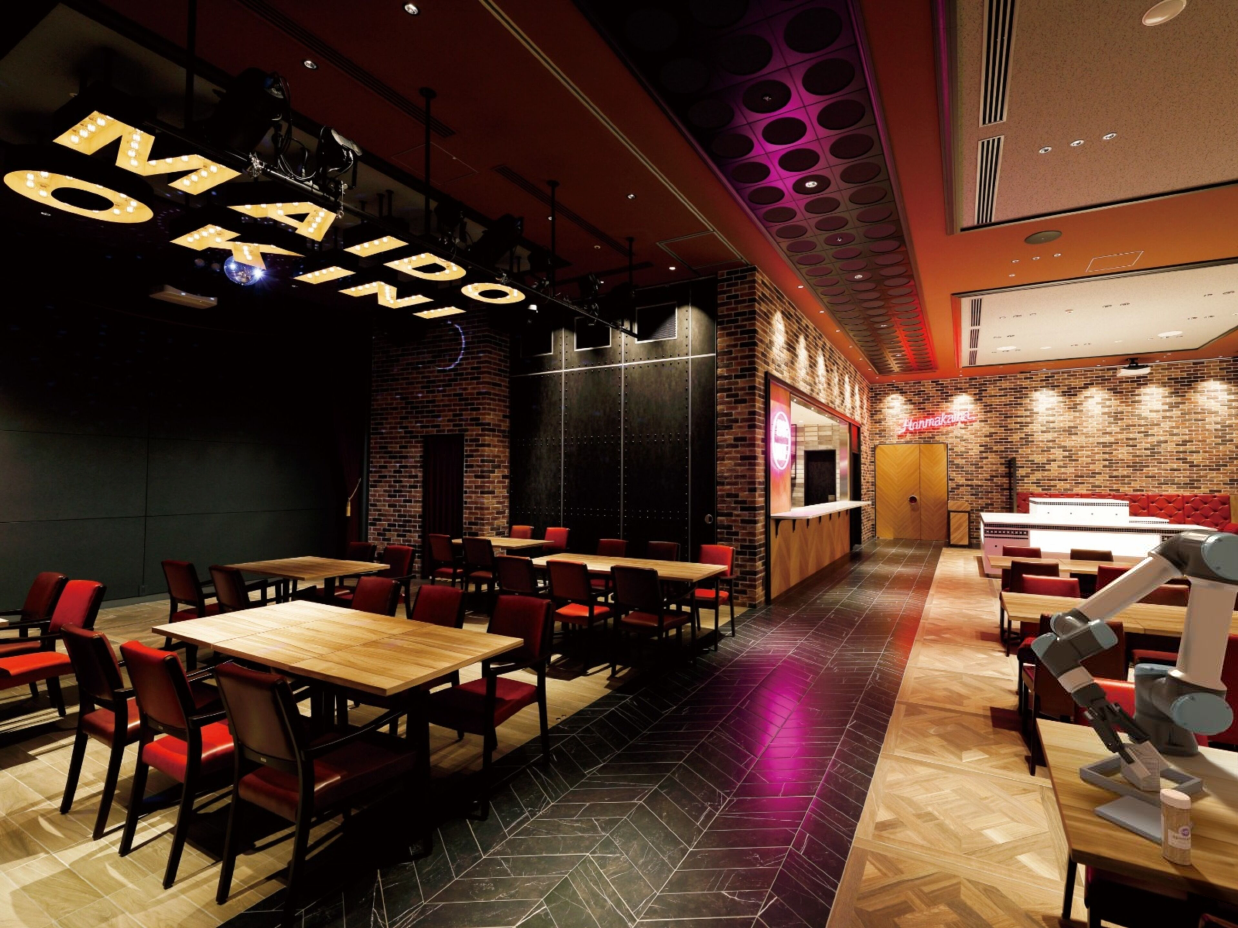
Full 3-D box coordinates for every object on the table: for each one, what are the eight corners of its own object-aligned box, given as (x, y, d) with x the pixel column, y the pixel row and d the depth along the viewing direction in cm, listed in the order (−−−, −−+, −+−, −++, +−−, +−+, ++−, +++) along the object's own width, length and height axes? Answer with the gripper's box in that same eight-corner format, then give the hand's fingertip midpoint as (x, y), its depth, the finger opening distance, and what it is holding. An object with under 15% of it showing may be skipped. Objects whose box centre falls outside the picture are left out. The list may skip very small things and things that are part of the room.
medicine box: (1161, 792, 143) (1160, 757, 144) (1140, 790, 144) (1140, 756, 145) (1139, 776, 151) (1138, 743, 151) (1120, 774, 152) (1119, 741, 152)
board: (1128, 799, 140) (1128, 794, 140) (1192, 827, 129) (1192, 822, 129) (1095, 813, 135) (1094, 808, 135) (1159, 843, 124) (1159, 837, 124)
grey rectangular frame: (1126, 760, 160) (1126, 751, 160) (1202, 789, 145) (1202, 779, 145) (1079, 777, 151) (1079, 767, 151) (1156, 809, 136) (1155, 799, 136)
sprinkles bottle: (1181, 867, 116) (1180, 801, 116) (1155, 853, 120) (1154, 789, 121) (1197, 864, 117) (1196, 797, 117) (1171, 849, 122) (1170, 786, 122)
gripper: (1094, 688, 166) (1165, 769, 152) (1048, 699, 158) (1119, 787, 143) (1115, 675, 162) (1191, 758, 147) (1070, 687, 153) (1145, 776, 138)
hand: (1155, 772), depth 145 cm, fingers open, 9 cm apart
